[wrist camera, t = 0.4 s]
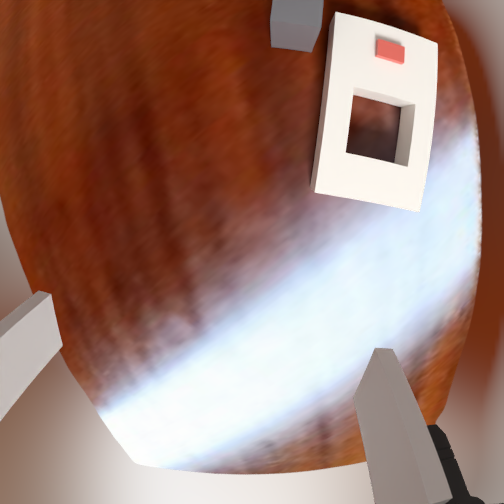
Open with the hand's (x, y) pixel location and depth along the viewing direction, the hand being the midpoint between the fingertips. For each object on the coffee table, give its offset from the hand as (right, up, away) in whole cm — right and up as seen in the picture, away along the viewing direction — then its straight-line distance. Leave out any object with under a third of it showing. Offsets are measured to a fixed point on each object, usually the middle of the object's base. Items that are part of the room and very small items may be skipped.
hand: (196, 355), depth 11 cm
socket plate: (+16, +20, +19) cm, 32 cm away
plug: (+7, +28, +17) cm, 34 cm away
